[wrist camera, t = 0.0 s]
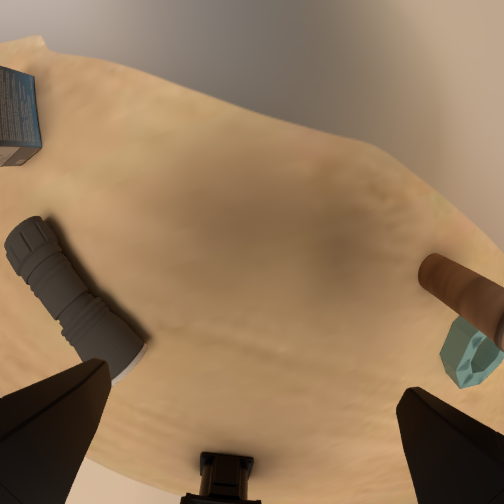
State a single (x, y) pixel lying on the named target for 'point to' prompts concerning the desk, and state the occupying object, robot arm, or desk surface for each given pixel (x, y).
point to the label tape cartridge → (17, 118)
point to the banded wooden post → (466, 295)
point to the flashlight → (71, 299)
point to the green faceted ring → (469, 354)
